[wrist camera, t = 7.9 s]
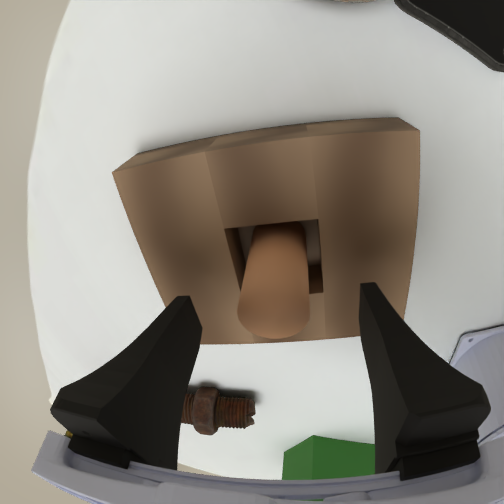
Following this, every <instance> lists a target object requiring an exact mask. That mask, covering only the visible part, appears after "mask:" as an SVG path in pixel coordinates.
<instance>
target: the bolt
mask: <svg viewBox="0 0 504 504" xmlns="http://www.w3.org/2000/svg"><path fill="white" fill-rule="evenodd" d="M253 415H255V404H254V401H252V400H251V398H250V399H249V400H248V398H246V399H245V398H243V399H242V398H241V397H240V398H239V399H238V398H237V397H236V398H234V397H232V398H231V397H229V398H228V397H227V396H226V397H225V398H224V396H222V397H220V394H219V391H218V390H217V389H216V388H213V387H201V388H199V389H198V390H197V392H196V394H195V395H194V394H190V393H188V394H187V393H186V395H185V400H184V406H183V411H182V418H181V423H185V424H186V423H187V424H191V425H193V426H194V428H195V430H196V431H197V432H199V433H200V434H204V435H213V434H214V433H216V432H217V430H218V428H219V427H222V428H223V427H224V426H225V427H226V428H227V427H229V428H231V427H233V428H235V427H236V428H238V427H239V428H240V429H241V428H242V427H243V428H244V429H245V428H246V427H248V426H250V425H253V424H255V423H254V420H253V418H252V416H253Z"/></svg>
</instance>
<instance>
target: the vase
mask: <svg viewBox="0 0 504 504" xmlns="http://www.w3.org/2000/svg"><path fill="white" fill-rule="evenodd" d="M334 1H341V2H370V1H376V0H334Z"/></svg>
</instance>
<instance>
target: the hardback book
mask: <svg viewBox="0 0 504 504" xmlns="http://www.w3.org/2000/svg"><path fill="white" fill-rule="evenodd" d="M374 474H375V444H367V443H359V442H351V441H344V440H338V439H332V438H326V437H320V436H315V435H313V436H311V437H309V438H308V439H306V440H304V441H303V442H301V443H299V444H298V445H296V446H294V447H292V448H291V449H289V450H287V451H285V452H284V460H283V473H282V480H317V479H335V478H347V477H357V476H366V475H374ZM323 500H324V499H313V500H299V501H323Z"/></svg>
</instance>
